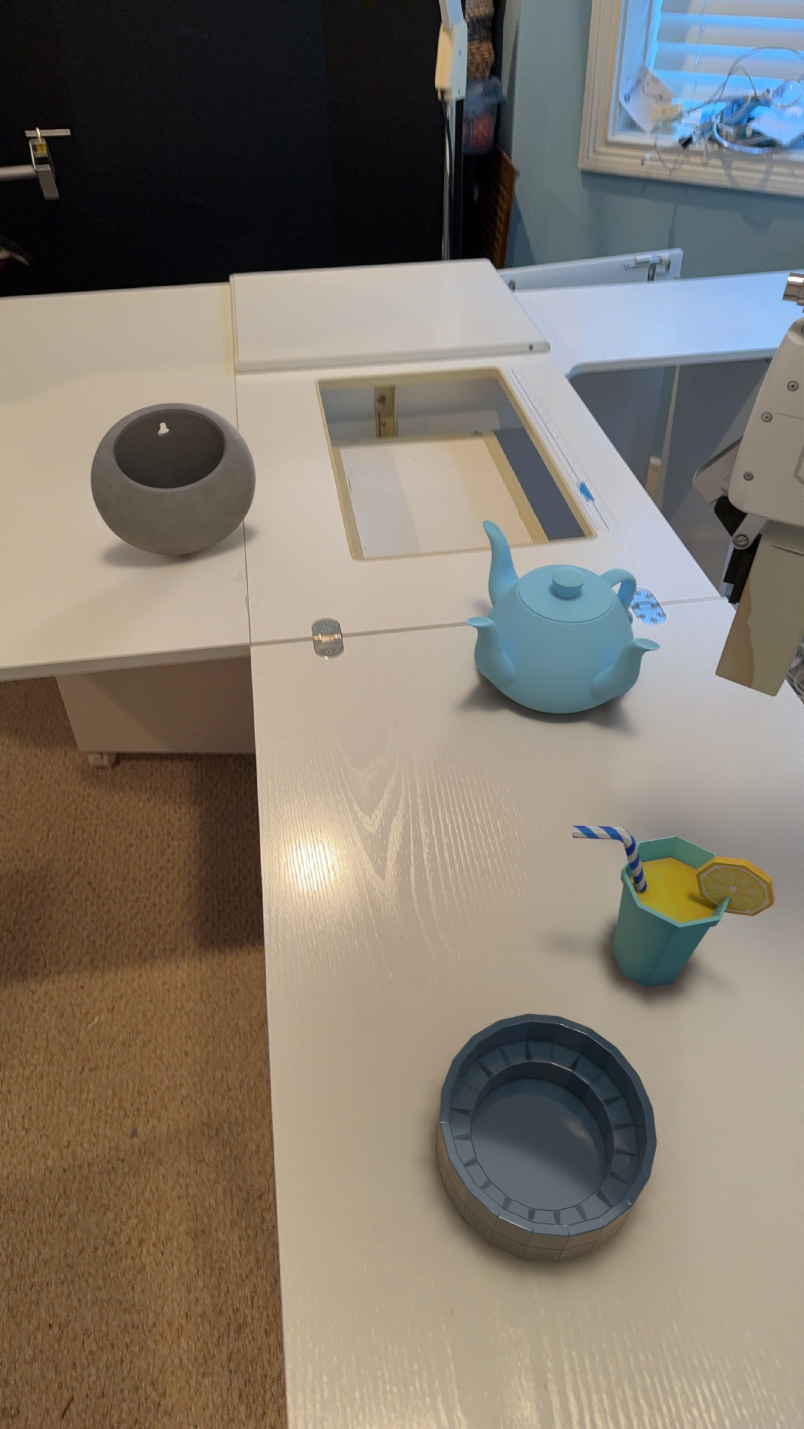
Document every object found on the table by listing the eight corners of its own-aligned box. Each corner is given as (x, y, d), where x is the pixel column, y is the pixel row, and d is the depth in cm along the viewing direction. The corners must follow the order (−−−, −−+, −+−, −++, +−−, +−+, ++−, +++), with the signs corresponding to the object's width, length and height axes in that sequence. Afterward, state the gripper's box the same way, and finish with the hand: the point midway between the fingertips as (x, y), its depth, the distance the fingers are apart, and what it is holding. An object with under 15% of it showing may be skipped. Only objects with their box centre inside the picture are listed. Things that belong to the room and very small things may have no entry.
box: (735, 636, 63) (783, 500, 55) (796, 657, 61) (854, 520, 54) (711, 677, 60) (758, 539, 52) (775, 701, 58) (833, 562, 51)
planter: (115, 583, 102) (74, 433, 89) (108, 550, 107) (68, 403, 94) (270, 553, 107) (253, 406, 94) (256, 522, 112) (238, 378, 99)
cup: (542, 984, 67) (570, 869, 56) (549, 898, 72) (575, 779, 62) (730, 1017, 65) (796, 904, 55) (723, 927, 71) (781, 808, 60)
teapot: (457, 722, 87) (464, 625, 78) (476, 607, 100) (484, 513, 91) (633, 743, 85) (661, 646, 76) (629, 623, 98) (652, 528, 89)
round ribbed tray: (654, 1097, 61) (674, 1059, 57) (610, 1303, 52) (629, 1278, 48) (475, 1025, 64) (481, 985, 60) (406, 1208, 56) (407, 1176, 52)
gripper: (704, 310, 44) (635, 601, 57) (1090, 370, 39) (919, 675, 52) (730, 264, 49) (661, 542, 62) (1075, 313, 44) (922, 604, 57)
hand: (780, 600), depth 57 cm, fingers closed on box, 4 cm apart
